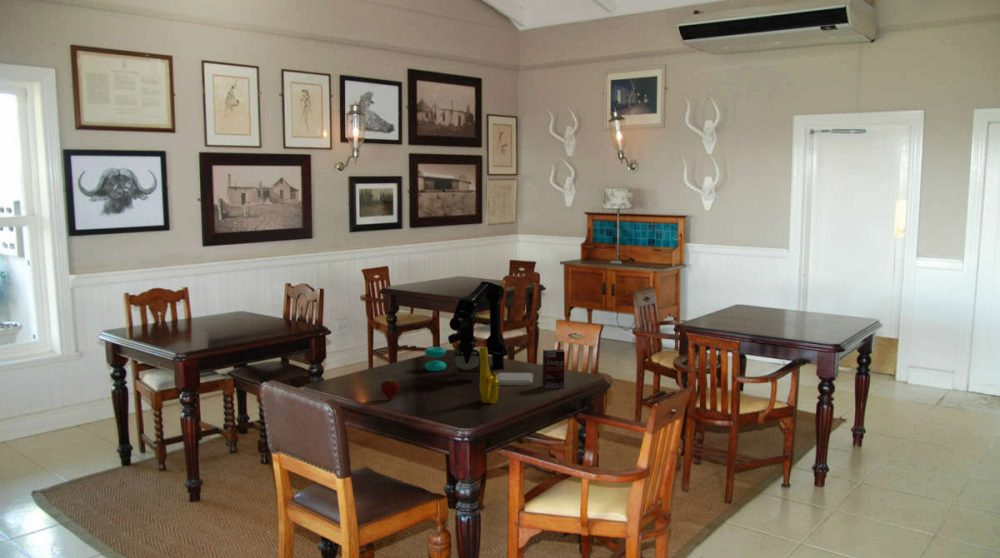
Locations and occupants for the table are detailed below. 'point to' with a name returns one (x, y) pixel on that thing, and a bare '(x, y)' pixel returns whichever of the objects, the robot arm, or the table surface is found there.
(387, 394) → the strawberry
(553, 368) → the supplement box
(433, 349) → the donuts
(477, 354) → the food container
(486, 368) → the yellow tall lumpy piece
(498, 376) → the white square tray
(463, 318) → the robot arm
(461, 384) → the table surface
